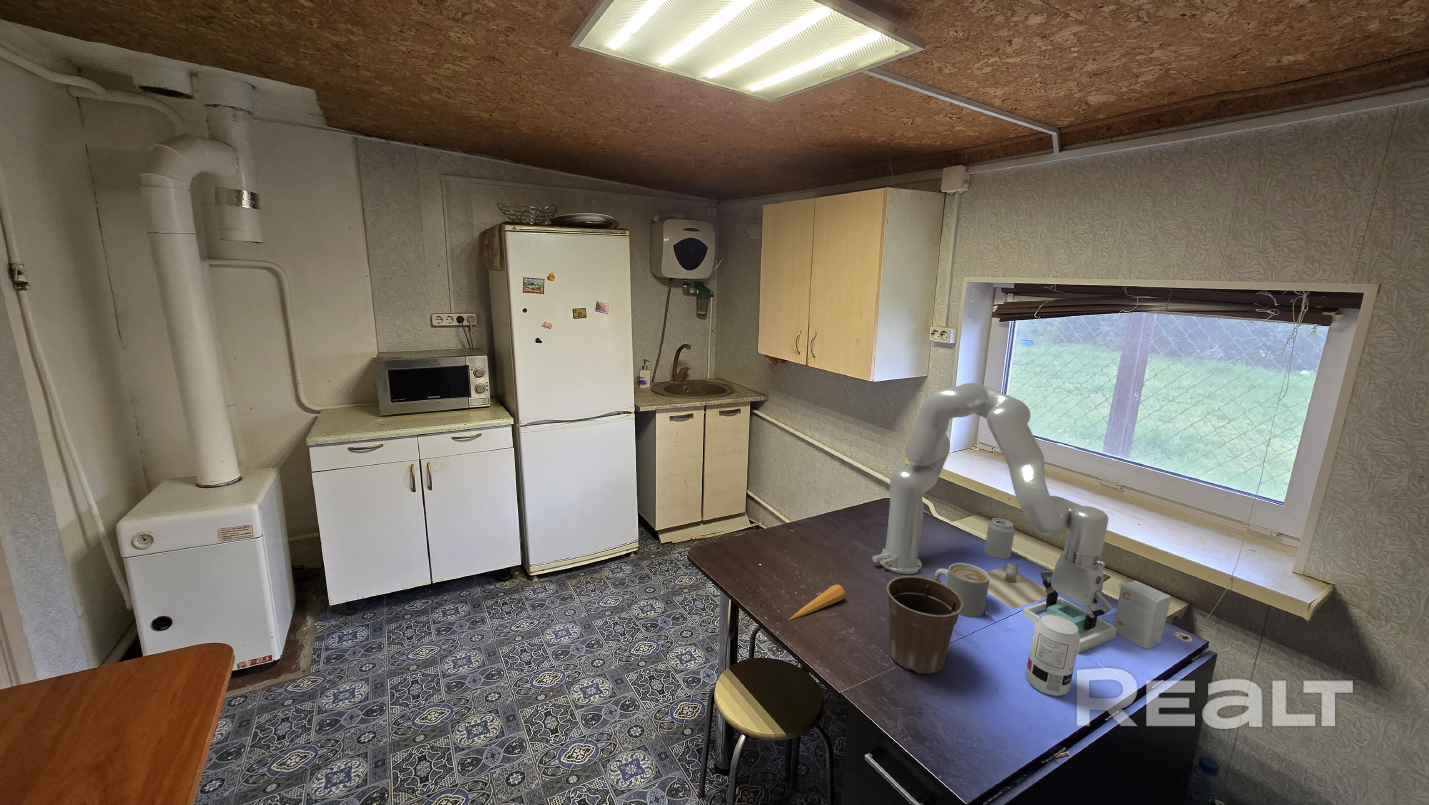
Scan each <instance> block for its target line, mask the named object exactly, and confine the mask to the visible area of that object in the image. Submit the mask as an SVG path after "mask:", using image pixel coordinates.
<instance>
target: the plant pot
mask: <svg viewBox="0 0 1429 805" xmlns="http://www.w3.org/2000/svg"><path fill="white" fill-rule="evenodd" d="M940 582H941V581H940ZM940 582H937V581H935V580H934V579H931V578H927V577H923V576H915V575H903V576H897V577H895V578H892V579H891V580H889V582H888V583H887V584H886V593H887V595H888V599H887V602H888V608H889V620H888V621H889V623H888V624H889V626H888V627H889V628H888V630H889V631H888V654H889V655H890V657H891V659H893V661H894V662H895V663H897V665H898V666H901V667H902V668H903V669H906V670H912V671H915V673H917V674H924V675H928V674H936V673H937V672H939V671H941V670H942V668H944V665H945V661H946V657H947V653H948V650H949V646H950V642H951V638H952V635H953V631H954V628H955V625H956V624H957V622H958V618H959V615H960V614H959V613H960V612H961V611H962V609H963V600H962V598H961V597H960V596H959V594H958V593H957V592H955V591H954V590H953V589H951V588H950V587H948V586H946V585H944V584H945V583H942V582H941V583H940Z"/></svg>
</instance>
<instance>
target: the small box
mask: <svg viewBox="0 0 1429 805" xmlns="http://www.w3.org/2000/svg"><path fill="white" fill-rule="evenodd" d="M1171 599H1172V596H1171V595H1169V594H1168V593H1164V592H1163V591H1160V590H1158V589H1156V588H1154V587H1151V586H1149V585H1147V584H1144V583H1143V582H1140V581H1137V580H1133V581H1130V582H1127V583H1124V584H1121V586H1120V591H1119V595H1118V600H1117V604H1116V605H1117V606H1116V611H1115V614H1114V619H1113V623H1112V625H1113V626H1114V627H1116V628H1117V630H1116V634H1117V635H1119V636H1120V637H1123V638H1124V639H1125V640H1128V641H1130V642H1132V643H1134V644H1135V645H1138V646H1139V647H1141V648H1143V649H1145V650H1149V649H1152V648H1153V647H1155V646H1157V645H1159V644H1161V642H1162V639H1163V638H1162V637H1163V633H1164V630H1165V626H1166V621H1167V618H1168V613H1169V609H1170V604H1171Z"/></svg>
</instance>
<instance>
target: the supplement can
mask: <svg viewBox="0 0 1429 805" xmlns="http://www.w3.org/2000/svg"><path fill="white" fill-rule="evenodd" d="M1079 641H1080V635H1079V632H1078V628H1077V626H1076V625H1075V624H1074V623H1073V622H1071V621H1070V620H1068V619H1066V618H1064V617H1062V616H1059V615H1055V614H1046V613H1043V614H1041V615H1040V617H1039V619H1037V621H1036V622H1035V623H1034V627H1033V631H1032V636H1031V642H1030V649H1029V653H1028V658H1027V664H1026V669H1025V677H1026V679H1027V681H1028V682H1029V683H1030V684H1031V686H1032V687H1033V688H1034V689H1036V690H1037V691H1039V692H1041V693H1043V694H1045V695H1049V696H1053V697H1061V696H1064V695H1066V694H1068V693H1069V691H1070V687H1071V684H1072V683H1071V682H1072V678H1073V675H1074V674H1073V673H1074V671H1075V670H1074V669H1075V664H1076V659H1077V655H1078V654H1077V651H1078V646H1079Z"/></svg>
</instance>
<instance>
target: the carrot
mask: <svg viewBox="0 0 1429 805" xmlns="http://www.w3.org/2000/svg"><path fill="white" fill-rule="evenodd" d="M845 597H846V591H845V590H844V588H843V586H841V585H840V584H834V585H832V586H830V587H828V588H827V589H825V590H824V591H823V592H822V593H821V594H819V595H818V596H816V597H815V598H814V599H813V600H811V601H810V602H809V603H807V604H805V605H804V606H803V607H802V608H800V609H799V610H798V611H797V612H796V613H794V614H793V615H792V616H791V617H790V618H789V619H787V620H786V621H787V622H789V621H791V620H794V619H797V618H800V617H803V616H805V615H808V614H811V613H814V612H815V611H818V610H820V609H823V608H825V607H828V606H831V605H833V604H835V603H838V602H840V601H843V599H844V598H845Z"/></svg>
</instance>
